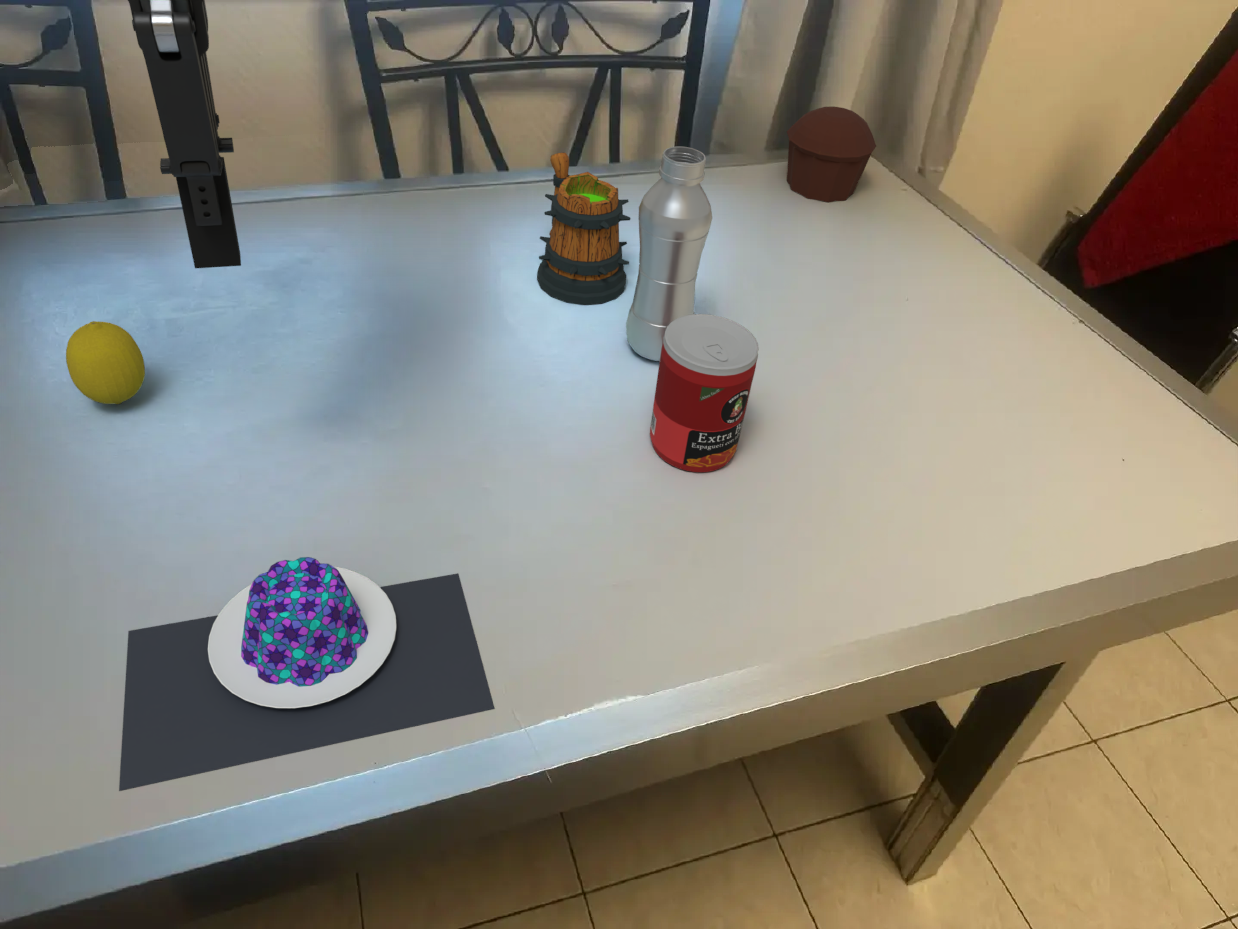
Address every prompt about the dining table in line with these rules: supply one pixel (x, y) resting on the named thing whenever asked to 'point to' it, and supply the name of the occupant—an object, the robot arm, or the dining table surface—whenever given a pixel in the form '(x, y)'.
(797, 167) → the muffin
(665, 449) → the canned food
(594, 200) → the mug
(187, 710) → the dark gray placemat
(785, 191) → the dining table surface
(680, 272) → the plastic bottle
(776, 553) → the dining table surface
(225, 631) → the pudding
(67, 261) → the dining table surface
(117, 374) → the lemon
